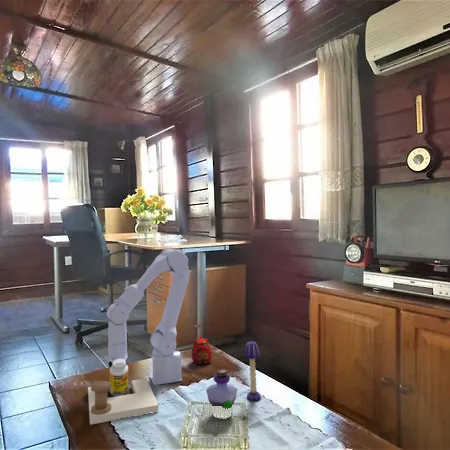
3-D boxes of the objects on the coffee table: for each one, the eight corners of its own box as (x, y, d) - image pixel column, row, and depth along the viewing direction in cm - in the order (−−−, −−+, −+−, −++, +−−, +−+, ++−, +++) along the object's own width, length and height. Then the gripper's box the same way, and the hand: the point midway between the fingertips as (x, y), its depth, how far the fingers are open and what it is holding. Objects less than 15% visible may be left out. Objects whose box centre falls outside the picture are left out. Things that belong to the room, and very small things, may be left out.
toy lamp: (249, 403, 112) (249, 345, 112) (241, 396, 116) (241, 341, 116) (263, 399, 114) (263, 343, 114) (255, 393, 118) (254, 339, 118)
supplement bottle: (111, 399, 116) (112, 369, 113) (107, 387, 120) (107, 359, 117) (130, 393, 118) (130, 365, 116) (125, 382, 123) (125, 355, 120)
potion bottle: (222, 426, 99) (222, 379, 99) (199, 415, 105) (199, 371, 105) (244, 414, 105) (243, 370, 105) (221, 404, 111) (221, 362, 111)
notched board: (146, 384, 125) (146, 357, 126) (158, 412, 107) (158, 380, 107) (88, 393, 119) (87, 365, 119) (89, 424, 100) (89, 391, 100)
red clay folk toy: (193, 366, 142) (192, 325, 142) (190, 359, 148) (190, 321, 148) (213, 364, 143) (213, 324, 143) (209, 358, 150) (209, 319, 150)
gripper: (103, 337, 128) (103, 378, 128) (106, 350, 114) (106, 395, 114) (124, 334, 130) (125, 374, 130) (130, 347, 117) (130, 392, 117)
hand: (118, 384), depth 122 cm, fingers closed
